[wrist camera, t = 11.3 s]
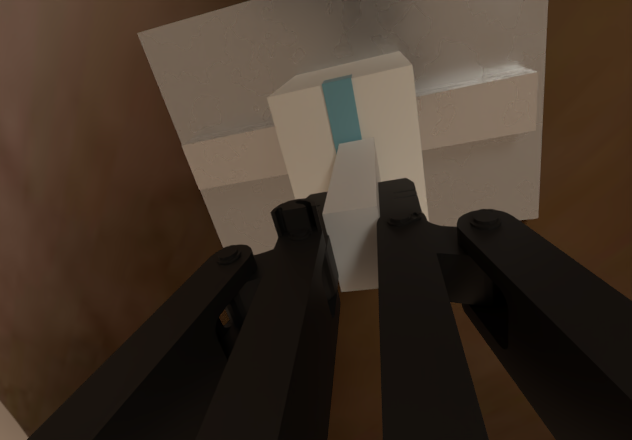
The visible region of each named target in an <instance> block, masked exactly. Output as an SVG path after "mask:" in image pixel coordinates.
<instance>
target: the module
mask: <svg viewBox="0 0 632 440" xmlns="http://www.w3.org/2000/svg"><path fill="white" fill-rule="evenodd" d="M267 100H268V104H269V107H270V111H271V114H272V118H273V121H274V125H275V129H276V132H277V136H278V139H279V143H280V147H281V150H282V154H283V157H284V161H285V164H286V168H287V172H288V175H289V179H290V182H291V186H292V190H293V193H294V197H295V199H303V198H305V199H306V198H307V197H308V196H309V195H310V194H315V193H322V192H328V188H329V184H330V180H331V176H332V172H333V167H334V163H335V159H336V155H337V151H338V147H339V144H341V143H346V142H352V141H357V140H362V139H367V138H373V137H374V140H375V146H376V153H377V159H378V165H379V171H380V177H381V182H383V181H389V180H395V179H401V178H408V179H409V180H411V181H412V182H414V185H415V188H416V192H417V196H418V199H419V203H420V207H421V210H422V212H423V213H424V215H425V216H426V218H427V221H428V222H429V217H428V207H427V198H426V188H425V179H424V169H423V159H422V150H421V140H420V131H419V121H418V111H417V102H416V92H415V83H414V73H413V65H412V63H411V62H410V61H409V60H408V59H407V58H406V57H405V56H404V55H403V54H402V53H401V52H400V51H397V52H393V53H389V54H384V55H380V56H376V57H372V58H367V59H363V60H359V61H355V62H350V63H346V64H342V65H338V66H333V67H329V68H325V69H321V70H316V71H312V72H308V73H304V74H299V75H295V76H294V77H293V78H292V79H290V80H289V81H288V82H286V83H285V84H284V85H283V86H281V87H280V88H279V89H277V90H276V91H275V92H273V93H272V94H271V95H270V96H268V97H267Z"/></svg>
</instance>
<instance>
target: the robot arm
mask: <svg viewBox="0 0 632 440" xmlns="http://www.w3.org/2000/svg"><path fill="white" fill-rule="evenodd" d="M270 213H271V216H272V219H273V222H274V225H275V229H276V232H277V235H278V239H277V242H276V244H275V247H274V249H272V250H269V251H267V252H263V253H260V254H257V255H254V254H253V252H252V249H251V248H250V247H249V246H248V245H243V244H239V245H230V246H229V247H228V246H227V247H224V248H223V249H222V250H220V251H218V252H216V253H215V254H214V255H212V256H211V257H210V258H209V259H208V260H207V261H206V262H205V263H204V264H203V265H202V266H201V267H200V268H199V269H198V270H197V271H196V272H195V273H194V274H193V275H192V276H191V277H190V278H189V279H188V280H187V281H186V282H185V283H184V284H183V285H182V286H181V287H180V288H179V289H178V290H177V291H176V292H175V293H174V294H173V295H172V296H171V297H170V298H169V299H168V300H167V301H166V302H165V303H164V304H163V305H162V306H161V307H160V308H159V309H158V310H157V311H156V312H155V313H154V314H153V315H152V316H151V317H150V318H149V319H148V320H147V321H146V322H145V323H144V324H143V325H142V326H141V327H140V328H139V329H138V330H137V331H136V332H135V333H134V334H133V335H132V336H131V337H130V338H129V339H128V340H127V341H126V342H125V343H124V344H123V345H122V346H121V347H120V348H119V349H118V350H116V351H115V352H114V353H113V354H112V355H111V356H110V357H109V358H108V359H107V360H106V361H105V362H104V363H103V364H102V365H101V366H100V367H99V368H98V369H97V370H96V371H95V372H94V373H93V374H92V375H91V376H90V377H89V378H88V379H87V380H86V381H85V382H84V383H83V384H82V385H81V386H80V387H79V388H78V389H77V390H76V391H75V392H74V393H73V394H72V395H71V396H70V397H69V398H68V399H67V400H66V401H65V402H64V403H63V404H62V405H61V406H60V407H59V408H58V409H57V410H56V411H55V412H54V413H53V414H52V415H51V416H50V417H49V418H48V419H47V420H46V421H45V422H44V423H43V424H42V425H41V426H40V427H39V428H38V429H37V430H36V431H35V432H34V433H33V434H32V435H31V436H30V437H29V438H28V439H27V440H327V438H328V427H329V417H330V407H331V396H332V386H333V376H334V365H335V355H336V345H337V334H338V324H339V314H340V298H339V294H338V290H337V287H338V280H339V284H340V288H341V292H347V291H357V290H367V289H377V288H378V290H379V323H380V356H381V390H382V423H383V440H489V439H488V435H487V432H486V428H485V425H484V421H483V418H482V414H481V410H480V407H479V403H478V400H477V396H476V393H475V389H474V385H473V382H472V378H471V375H470V371H469V368H468V364H467V361H466V357H465V353H464V350H463V346H462V343H461V339H460V336H459V332H458V329H457V325H456V321H455V318H454V314H453V311H452V307H451V304H450V302H455V303H462V307H463V309H464V312H465V313H466V315H467V316H468V317H469V319H470V320H471V322H472V323H473V324H474V326H475V327H476V329H477V330H478V331H479V333H480V334H481V336H482V337H483V338H484V340H485V341H486V343H487V344H488V345H489V347H490V348H491V350H492V351H493V352H494V354H495V355H496V356H497V358H498V359H499V361H500V362H501V363H502V365H503V366H504V368H505V369H506V370H507V372H508V373H509V375H510V376H511V377H512V379H513V380H514V382H515V383H516V384H517V386H518V387H519V389H520V390H521V391H522V393H523V394H524V396H525V397H526V398H527V400H528V401H529V403H530V404H531V405H532V407H533V408H534V410H535V411H536V412H537V414H538V415H539V417H540V418H541V419H542V421H543V422H544V424H545V425H546V426H547V428H548V429H549V431H550V432H551V433H552V435H553V436H554V438H555V439H556V440H632V301H631V300H630V299H628V298H627V297H625V296H624V295H623V294H621V293H620V292H618V291H617V290H616V289H614V288H613V287H611V286H610V285H609V284H607V283H606V282H604V281H603V280H602V279H600V278H599V277H597V276H596V275H595V274H593V273H592V272H590V271H589V270H588V269H586V268H585V267H584V266H582V265H581V264H579V263H578V262H577V261H575V260H574V259H572V258H571V257H570V256H568V255H567V254H565V253H564V252H563V251H561V250H560V249H558V248H557V247H556V246H554V245H553V244H551V243H550V242H549V241H547V240H546V239H544V238H543V237H542V236H540V235H539V234H537V233H536V232H535V231H533V230H532V229H530V228H529V227H528V226H526V225H525V224H524V223H522V222H521V221H519V220H518V219H517V218H515V217H514V216H512V215H510V214H508V213H506V212H504V211H499V210H494V209H480V210H476V211H471V212H469V213H466V214H464V215H462V216H461V217H460V218H459V219H458V221H457V227H454V226H440V225H436V224H433V223H431V222H428V221H427V218H426V216H425V215H424V213H423V212H422V210H421V207H420V203H419V199H418V196H417V192H416V188H415V185H414V182H412V181H411V180H409V179H408V178H401V179H395V180H389V181H383V182H381V177H380V171H379V165H378V159H377V153H376V146H375V140H374V137H373V138H367V139H362V140H357V141H352V142H346V143H341V144H339V147H338V151H337V155H336V159H335V163H334V167H333V172H332V176H331V180H330V184H329V188H328V192H322V193H315V194H310V195H309V196H308V197H307V198H306V199H305V198H303V199H295V200H291V201H287V202H285V203H282V204H280V205H278V206H277V207H275V208H274V209H273V210H272V211H271V212H270ZM224 309H225V310H226V312H227V314H228V317H229V319H230V320H229V321H228V322H227V324H225V325H224V326H223V325H222V323H221V321H220V319H219V316H220V314H221V313H222V312H223V311H224Z"/></svg>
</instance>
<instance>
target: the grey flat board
mask: <svg viewBox="0 0 632 440" xmlns="http://www.w3.org/2000/svg"><path fill="white" fill-rule="evenodd" d="M547 12H548V0H250V1H247V2H243V3H240V4H236V5H233V6H229V7H226V8H222V9H219V10H215V11H212V12H209V13H205V14H202V15H198V16H195V17H191V18H188V19H184V20H181V21H177V22H174V23H170V24H167V25H164V26H160V27H157V28H153V29H150V30H146V31H143V32H139V33H137V34H138V36H139V39H140V41H141V44H142V46H143V49H144V51H145V54H146V56H147V59H148V61H149V64H150V66H151V69H152V71H153V74H154V76H155V79H156V81H157V84H158V86H159V89H160V91H161V94H162V96H163V99H164V101H165V104H166V106H167V109H168V111H169V114H170V116H171V119H172V121H173V124H174V126H175V129H176V131H177V134H178V136H179V139H180V141H181V144H182V148H183V151H184V153H185V156H186V158H187V161H188V163H189V166H190V168H191V171H192V173H193V175H194V178H195V180H196V183H197V185H198V188H199V190H200V191H201V194H202V196H203V199H204V201H205V204H206V206H207V209H208V211H209V214H210V216H211V219H212V221H213V224H214V226H215V229H216V231H217V234H218V236H219V239H220V241H221V244H222V246H223V248H224V247H227V246H228V247H229V246H230V245H239V244H243V245H248V246H249V247H250V248H251V249H252V252H253V254H254V255H257V254H260V253H263V252H267V251H269V250H272V249H274V247H275V244H276V242H277V239H278V235H277V232H276V229H275V225H274V222H273V219H272V216H271V213H270V212H271V211H272V210H273V209H274V208H275V207H277V206H278V205H280V204H282V203H285V202H287V201H291V200H295V197H294V193H293V190H292V186H291V182H290V179H289V175H288V172H287V168H286V164H285V161H284V157H283V154H282V150H281V147H280V143H279V139H278V136H277V132H276V129H275V125H274V121H273V118H272V114H271V111H270V107H269V104H268V100H267V97H268V96H270V95H271V94H272V93H273V92H275V91H276V90H277V89H279V88H280V87H281V86H283V85H284V84H285V83H286V82H288V81H289V80H290V79H292V78H293V77H294V76H295V75H299V74H304V73H308V72H312V71H316V70H321V69H325V68H329V67H333V66H338V65H342V64H346V63H350V62H355V61H359V60H363V59H367V58H372V57H376V56H380V55H384V54H389V53H393V52H397V51H400V52H401V53H402V54H403V55H404V56H405V57H406V58H407V59H408V60H409V61H410V62H411V63H412V65H413V73H414V83H415V92H416V102H417V111H418V121H419V131H420V140H421V150H422V159H423V169H424V179H425V188H426V198H427V207H428V217H429V222H431V223H433V224H436V225H440V226H454V227H457V221H458V219H459V218H460V217H461V216H462V215H464V214H466V213H469V212H471V211H476V210H480V209H494V210H499V211H504V212H506V213H508V214H510V215H512V216H514V217H515V218H517V219H518V220H527V219H535V218H538V210H539V188H540V166H541V144H542V122H543V100H544V78H545V56H546V34H547Z"/></svg>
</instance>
